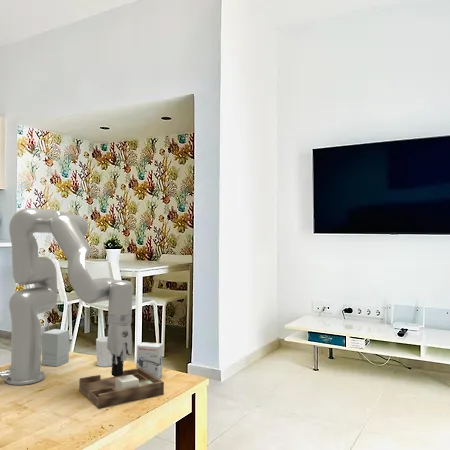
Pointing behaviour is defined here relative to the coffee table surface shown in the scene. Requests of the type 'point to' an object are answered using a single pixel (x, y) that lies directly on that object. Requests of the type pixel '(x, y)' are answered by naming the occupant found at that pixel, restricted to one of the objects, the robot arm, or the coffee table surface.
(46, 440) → the coffee table surface
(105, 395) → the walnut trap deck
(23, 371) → the robot arm
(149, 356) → the ink box
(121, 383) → the ivory block
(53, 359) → the supplement box
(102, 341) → the light grey cylinder
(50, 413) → the coffee table surface
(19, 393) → the coffee table surface
